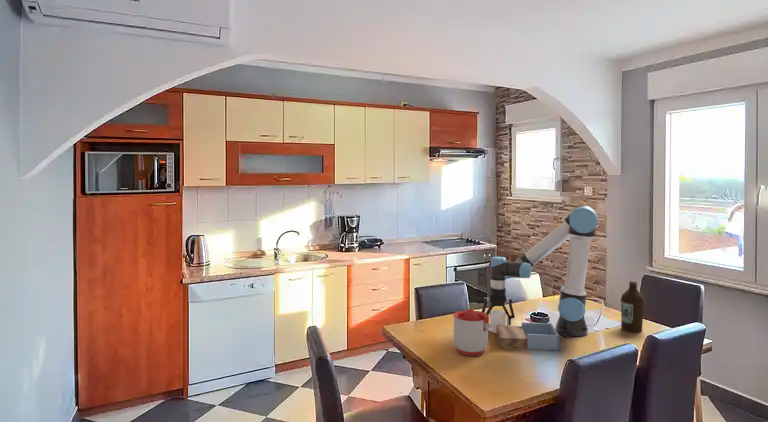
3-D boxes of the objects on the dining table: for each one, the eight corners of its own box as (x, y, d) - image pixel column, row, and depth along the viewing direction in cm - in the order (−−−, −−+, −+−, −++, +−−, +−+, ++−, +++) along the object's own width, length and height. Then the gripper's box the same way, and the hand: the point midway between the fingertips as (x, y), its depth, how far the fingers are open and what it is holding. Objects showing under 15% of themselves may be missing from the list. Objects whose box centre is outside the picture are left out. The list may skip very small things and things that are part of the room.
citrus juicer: (485, 362, 201) (485, 316, 200) (447, 354, 211) (447, 310, 209) (497, 350, 215) (497, 307, 213) (461, 343, 224) (461, 302, 222)
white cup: (505, 334, 236) (506, 314, 235) (489, 333, 238) (489, 313, 237) (505, 329, 244) (505, 310, 243) (489, 328, 245) (489, 309, 244)
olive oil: (630, 325, 249) (631, 278, 247) (648, 331, 239) (650, 282, 237) (615, 327, 245) (616, 280, 243) (633, 334, 235) (634, 284, 233)
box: (551, 337, 231) (551, 323, 231) (559, 351, 213) (559, 335, 213) (521, 336, 233) (521, 322, 233) (527, 349, 215) (527, 334, 215)
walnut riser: (521, 336, 233) (521, 326, 233) (527, 349, 215) (527, 338, 215) (496, 335, 235) (496, 325, 234) (500, 348, 217) (500, 337, 217)
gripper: (519, 286, 241) (518, 329, 243) (475, 285, 244) (475, 327, 246) (521, 289, 234) (520, 334, 235) (476, 288, 237) (475, 332, 238)
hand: (497, 330), depth 241 cm, fingers open, 9 cm apart
